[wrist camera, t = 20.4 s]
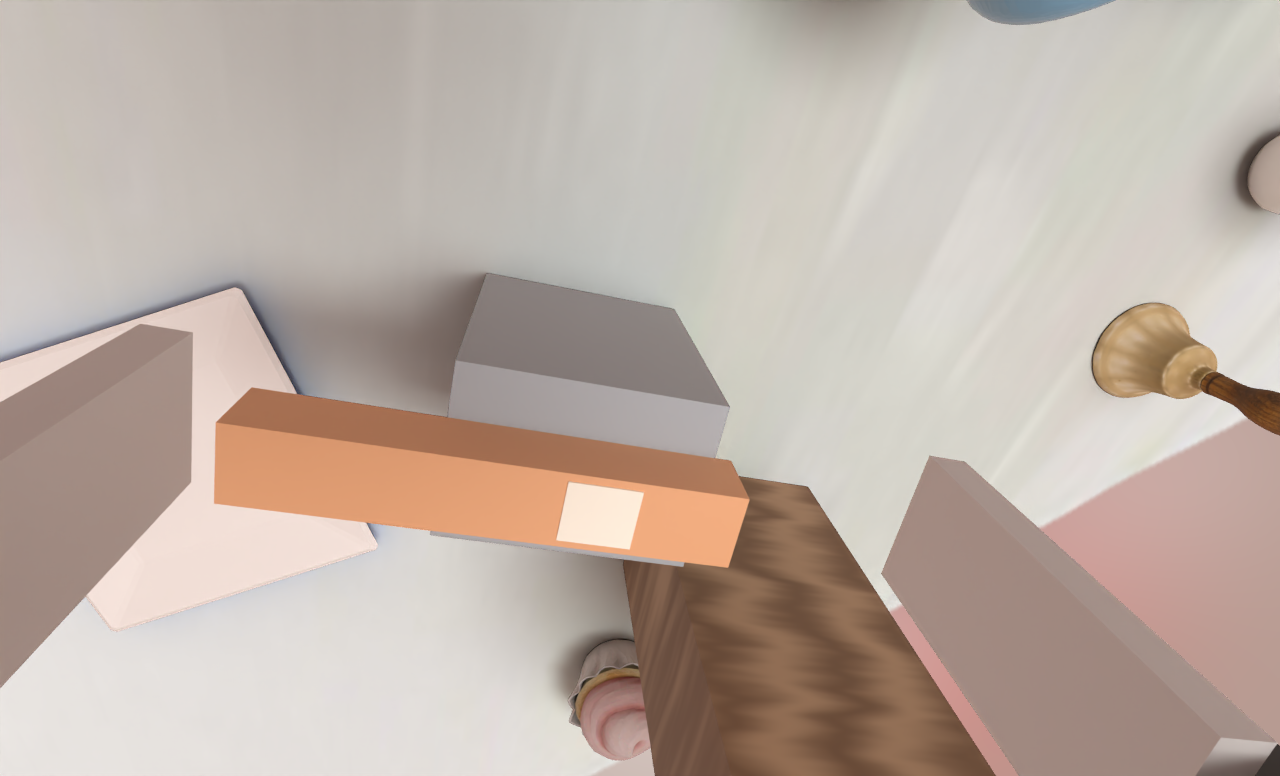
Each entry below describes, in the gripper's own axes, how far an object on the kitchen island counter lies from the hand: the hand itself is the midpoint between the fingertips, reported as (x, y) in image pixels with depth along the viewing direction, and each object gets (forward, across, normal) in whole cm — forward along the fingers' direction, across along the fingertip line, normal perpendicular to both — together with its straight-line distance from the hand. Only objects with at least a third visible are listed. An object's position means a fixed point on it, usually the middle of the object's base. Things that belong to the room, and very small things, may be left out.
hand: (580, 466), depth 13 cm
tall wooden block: (+41, +18, -25) cm, 51 cm away
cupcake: (+41, +13, -41) cm, 59 cm away
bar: (+22, -1, -12) cm, 25 cm away
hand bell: (+41, +49, -3) cm, 64 cm away
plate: (+41, -24, -26) cm, 54 cm away
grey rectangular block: (+41, +3, -12) cm, 42 cm away
